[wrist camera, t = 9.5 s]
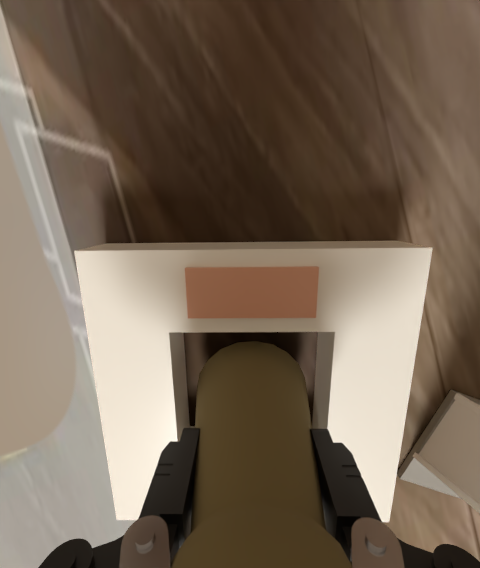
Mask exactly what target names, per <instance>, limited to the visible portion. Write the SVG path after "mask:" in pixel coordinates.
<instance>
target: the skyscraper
mask: <svg viewBox="0 0 480 568" xmlns="http://www.w3.org/2000/svg"><path fill="white" fill-rule="evenodd" d="M397 474H398V476H399V478H400V479H402V480H405V481H409V482H412V483H415V484H418V485H421V486H424V487H427V488H430V489H433V490H436V491H439V492H442V493H445V494H448V495H451V496H454V497H457V498H460V499H463V500H464V501H466V502H467V503H468V504H469V505H470V506H471V507H473V508H474V509H475V510H476V511H477V512H478V513H480V400H479V399H476V398H473V397H471V396H468V395H465V394H462V393H459V392H457V391H454V390H450V392H449V393H448V395H447V396H446V398H445V399H444V401H443V402H442V404H441V405H440V407H439V408H438V410H437V412H436V413H435V415H434V416H433V418H432V419H431V421H430V422H429V424H428V425H427V427H426V428H425V430H424V432H423V433H422V435H421V436H420V438H419V439H418V441H417V442H416V444H415V445H414V447H413V449H412V450H411V452H410V453H409V455H408V456H407V458H406V459H405V461H404V462H403V464H402V465H401V467H400V469H399V470H398V472H397Z"/></svg>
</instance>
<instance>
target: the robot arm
mask: <svg viewBox="0 0 480 568" xmlns="http://www.w3.org/2000/svg"><path fill="white" fill-rule="evenodd" d="M310 432H311V437H312V442H313V447H314V451H315V456H316V461H317V468H318V475H319V482H320V489H321V496H322V503H323V511H324V518H325V525H326V531H327V532H328V533H329V534H330V535H331V536H332V537H334V538H335V539H336V540H337V541H338V542H339V543H340V545H341V546H342V548H343V550H344V552H345V554H346V556H347V558H348V560H349V561H350V563H351V565H352V567H353V568H480V562H479V561H478V560H477V559H476V558H475V557H474V556H472V555H471V554H470V553H468V552H467V551H465V550H463V549H461V548H459V547H457V546H454V545H450V544H442V545H439V546H437V547H436V549H435V550H434V553H431V552H428V551H425V550H422V549H420V548H417V547H414V546H411V545H409V544H406V543H404V542H403V541H401V540H399V539H398V538H397V537H396V536H395V534H394V533H393V532H392V531H391V529H390V528H389V527H387V526H386V525H385V524H384V523H383V522H382V521H381V519H380V517H379V514H378V512H377V510H376V507H375V505H374V503H373V501H372V498H371V496H370V494H369V491H368V489H367V487H366V485H365V482H364V480H363V478H362V476H361V473H360V471H359V469H358V468H357V464H356V462H355V459H354V457H353V455H352V453H351V452H350V451H349V450H348V449H347V447H346V446H345V445H344V444H343V443H333V441H332V438H331V435H330V433H329V430H328V429H310ZM199 433H200V428H184V429H183V431H182V435H181V438H180V441H170V442H169V443H168V445H167V446H166V447H165V448H164V449H163V451H162V452H161V455H160V458H159V461H158V464H157V467H156V469H155V472H154V476H153V478H152V481H151V484H150V487H149V490H148V493H147V496H146V498H145V501H144V504H143V507H142V510H141V513H140V516H139V518H138V520H137V521H136V522H134V523H133V524H132V525H131V526H130V527H129V528H128V530H127V531H126V533H125V535H123V536H122V537H120V538H119V539H117V540H115V541H112V542H109V543H106V544H103V545H101V546H98V547H95V548H92V547H91V545H90V543H89V542H88V541H86V540H84V539H73V540H69V541H67V542H65V543H63V544H61V545H60V546H58V547H57V548H56V549H55V550H53V551H52V552H51V553H50V554H49V556H48V557H47V558H46V559H45V560H44V562H43V563H42V564H41V565H40V566H39V568H171V563H172V560H173V558H174V556H175V554H176V553H177V551H178V550H179V549H180V547H181V546H182V544H183V543H184V541H185V540H186V538H187V537H188V536H189V535H190V534H191V511H192V494H193V484H194V473H195V463H196V453H197V446H198V439H199Z"/></svg>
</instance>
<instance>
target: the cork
mask: <svg viewBox="0 0 480 568" xmlns="http://www.w3.org/2000/svg"><path fill="white" fill-rule="evenodd" d="M195 428H200V433H199V439H198V446H197V453H196V463H195V473H194V484H193V494H192V511H191V534H190V535H189V536H188V537H187V538H186V540H185V541H184V543H183V544H182V546H181V547H180V549H179V550H178V551H177V553H176V554H175V556H174V558H173V560H172V563H171V568H353V567H352V565H351V563H350V561H349V560H348V558H347V556H346V554H345V552H344V550H343V548H342V546H341V545H340V543H339V542H338V541H337V540H336V539H335V538H334V537H332V536H331V535H330V534H329V533H328V532H327V531H326V525H325V518H324V511H323V503H322V496H321V489H320V482H319V475H318V468H317V461H316V456H315V451H314V447H313V442H312V437H311V432H310V429H312V425H311V418H310V411H309V404H308V396H307V389H306V382H305V377H304V375H303V373H302V371H301V368H300V366H299V364H298V363H297V362H296V361H295V360H294V359H293V358H292V357H291V356H290V355H289V354H288V353H287V352H286V351H284V350H282V349H280V348H278V347H276V346H274V345H272V344H268V343H263V342H258V341H248V342H238V343H235V344H232V345H230V346H227V347H225V348H223V349H220V350H219V351H218V352H217V353H216V354H214V355H213V356H212V357H211V358H210V359H209V360H207V362H206V364H205V366H204V367H203V369H202V371H201V372H200V374H199V380H198V385H197V398H196V420H195Z"/></svg>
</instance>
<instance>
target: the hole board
mask: <svg viewBox="0 0 480 568" xmlns="http://www.w3.org/2000/svg"><path fill="white" fill-rule="evenodd" d="M432 249H433V248H432V247H427V246H422V245H417V244H412V243H407V242H402V241H303V242H199V243H105V244H101V245H97V246H93V247H89V248H84V249H80V250H76V251H74V252H75V258H76V265H77V271H78V277H79V284H80V290H81V296H82V303H83V309H84V315H85V322H86V328H87V334H88V341H89V347H90V353H91V360H92V366H93V372H94V379H95V385H96V391H97V398H98V404H99V410H100V417H101V423H102V429H103V436H104V442H105V448H106V455H107V461H108V467H109V474H110V480H111V486H112V493H113V499H114V505H115V512H116V518H117V520H138V518H139V516H140V513H141V510H142V507H143V504H144V501H145V498H146V496H147V493H148V490H149V487H150V484H151V481H152V478H153V476H154V472H155V469H156V467H157V464H158V461H159V458H160V455H161V452H162V451H163V449H164V448H165V447H166V446H167V445H168V443H169V442H170V441H180V438H181V435H182V431H183V429H184V428H195V426H190V423H189V408H188V393H187V378H186V363H185V347H184V332H318V337H317V353H316V370H315V386H314V402H313V418H312V429H328V430H329V433H330V435H331V438H332V441H333V443H343V444H344V445H345V446H346V447H347V449H348V450H349V451H350V452H351V453H352V455H353V457H354V459H355V462H356V464H357V468H358V469H359V471H360V473H361V476H362V478H363V480H364V482H365V485H366V487H367V489H368V491H369V494H370V496H371V498H372V501H373V503H374V505H375V507H376V510H377V512H378V514H379V517H380V519H381V521H382V522H389V519H390V513H391V507H392V501H393V494H394V488H395V482H396V475H397V469H398V463H399V456H400V450H401V444H402V438H403V431H404V425H405V419H406V412H407V406H408V400H409V393H410V387H411V381H412V375H413V368H414V362H415V356H416V349H417V343H418V337H419V330H420V324H421V318H422V312H423V305H424V299H425V293H426V286H427V280H428V274H429V267H430V261H431V255H432Z"/></svg>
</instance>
